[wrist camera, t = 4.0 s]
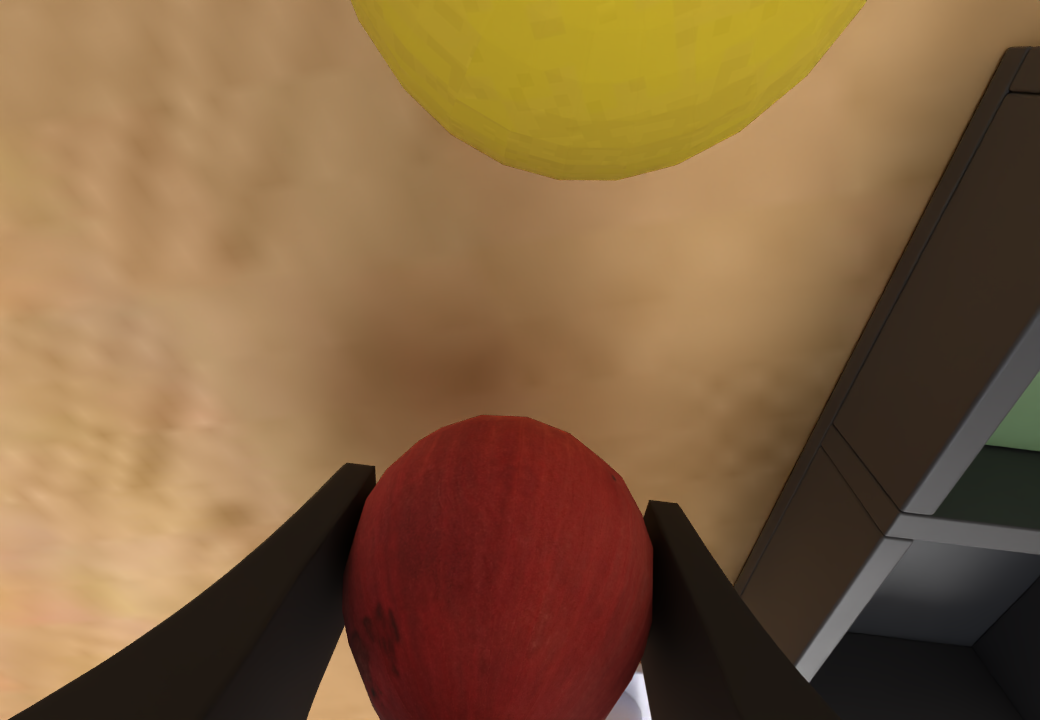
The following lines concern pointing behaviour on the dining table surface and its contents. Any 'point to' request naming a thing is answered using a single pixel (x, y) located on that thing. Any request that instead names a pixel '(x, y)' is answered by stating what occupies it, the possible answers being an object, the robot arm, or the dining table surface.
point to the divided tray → (929, 460)
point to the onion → (498, 578)
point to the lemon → (600, 73)
